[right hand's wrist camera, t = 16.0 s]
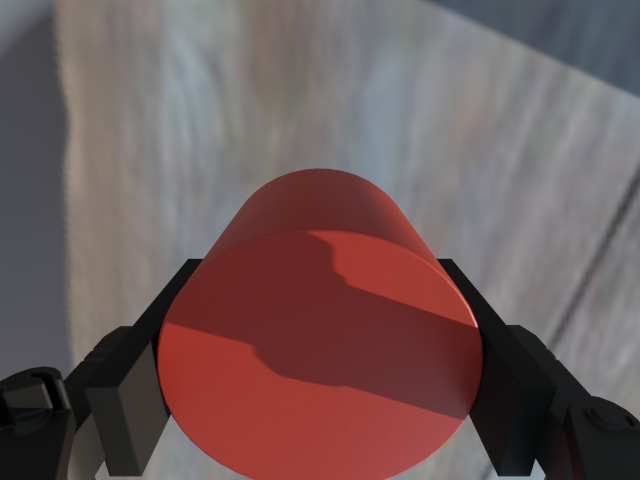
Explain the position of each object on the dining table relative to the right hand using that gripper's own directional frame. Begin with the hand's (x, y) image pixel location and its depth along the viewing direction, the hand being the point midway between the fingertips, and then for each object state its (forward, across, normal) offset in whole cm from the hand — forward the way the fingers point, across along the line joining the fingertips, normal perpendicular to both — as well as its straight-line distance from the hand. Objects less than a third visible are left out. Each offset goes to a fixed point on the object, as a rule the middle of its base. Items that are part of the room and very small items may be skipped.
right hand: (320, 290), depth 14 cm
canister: (+3, 0, 0) cm, 3 cm away
